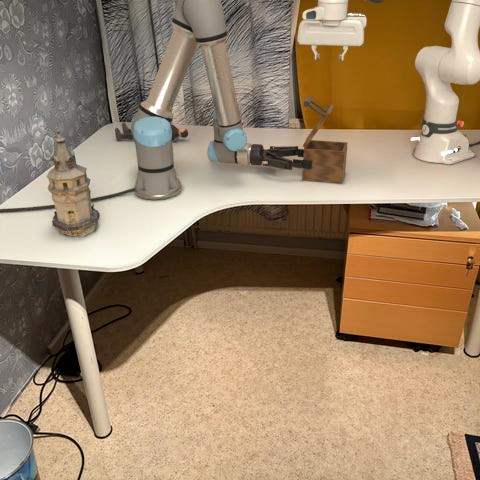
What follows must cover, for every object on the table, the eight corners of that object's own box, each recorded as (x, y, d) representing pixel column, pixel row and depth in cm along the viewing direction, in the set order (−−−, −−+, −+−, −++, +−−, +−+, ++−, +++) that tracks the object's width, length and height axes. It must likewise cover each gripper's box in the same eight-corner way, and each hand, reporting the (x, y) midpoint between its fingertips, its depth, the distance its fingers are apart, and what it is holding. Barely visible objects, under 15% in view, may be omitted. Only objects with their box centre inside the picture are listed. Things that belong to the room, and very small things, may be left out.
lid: (334, 105, 179) (311, 90, 178) (330, 114, 171) (307, 97, 170) (309, 138, 187) (288, 124, 186) (305, 148, 179) (282, 132, 178)
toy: (130, 116, 235) (195, 116, 229) (132, 130, 238) (197, 130, 232) (105, 135, 213) (177, 135, 207) (108, 150, 216) (179, 151, 210)
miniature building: (80, 214, 164) (63, 117, 149) (111, 225, 157) (96, 125, 142) (44, 231, 154) (22, 130, 140) (75, 244, 147) (55, 139, 133)
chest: (345, 173, 189) (347, 142, 184) (342, 183, 181) (344, 151, 176) (307, 169, 193) (308, 139, 187) (302, 180, 185) (303, 149, 179)
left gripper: (258, 153, 201) (317, 158, 196) (243, 176, 182) (308, 181, 177) (258, 134, 198) (318, 138, 192) (243, 155, 179) (310, 160, 174)
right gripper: (368, 11, 161) (363, 59, 168) (300, 10, 166) (298, 57, 173) (366, 14, 156) (362, 63, 163) (297, 13, 161) (295, 61, 167)
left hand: (314, 159), depth 185 cm, fingers closed on chest, 10 cm apart
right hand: (329, 60), depth 168 cm, fingers open, 6 cm apart
